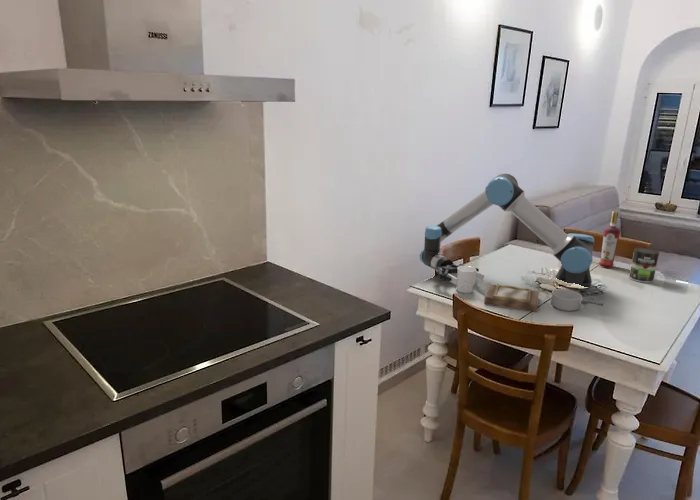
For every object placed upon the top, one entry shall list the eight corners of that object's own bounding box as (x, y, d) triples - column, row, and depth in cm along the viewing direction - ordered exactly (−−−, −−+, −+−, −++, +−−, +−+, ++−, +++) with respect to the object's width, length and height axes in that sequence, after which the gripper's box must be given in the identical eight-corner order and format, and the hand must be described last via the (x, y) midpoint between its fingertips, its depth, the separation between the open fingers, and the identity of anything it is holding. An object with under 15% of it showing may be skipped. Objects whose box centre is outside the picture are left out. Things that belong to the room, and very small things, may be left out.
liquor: (597, 266, 257) (606, 212, 249) (599, 263, 263) (607, 209, 254) (613, 269, 253) (623, 214, 245) (614, 265, 259) (624, 211, 251)
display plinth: (538, 297, 216) (539, 289, 215) (536, 311, 201) (537, 302, 200) (489, 290, 223) (490, 282, 222) (484, 303, 208) (485, 295, 207)
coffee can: (655, 284, 234) (661, 254, 230) (630, 281, 238) (635, 252, 234) (651, 277, 243) (657, 248, 239) (627, 274, 247) (632, 246, 243)
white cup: (475, 293, 219) (477, 271, 216) (457, 293, 219) (459, 271, 216) (471, 287, 226) (473, 265, 223) (454, 286, 226) (455, 265, 224)
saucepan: (595, 322, 194) (598, 308, 192) (544, 306, 207) (546, 293, 206) (606, 313, 202) (609, 300, 200) (557, 299, 215) (558, 286, 213)
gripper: (464, 269, 243) (492, 284, 224) (418, 275, 233) (444, 291, 215) (465, 254, 241) (494, 268, 222) (419, 260, 231) (445, 274, 212)
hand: (470, 279), depth 218 cm, fingers open, 13 cm apart
